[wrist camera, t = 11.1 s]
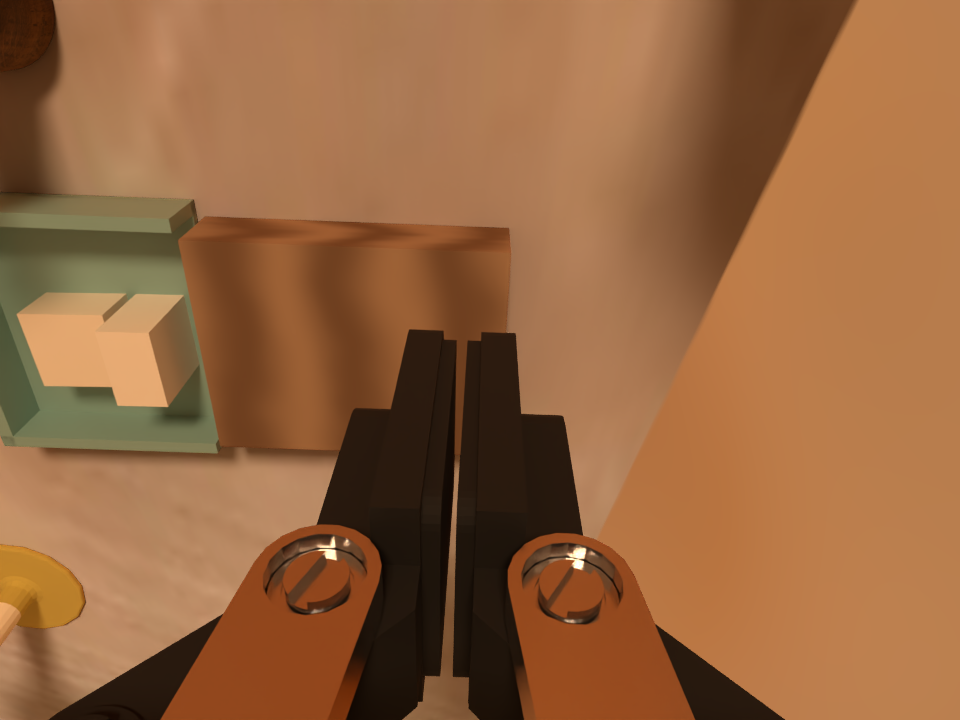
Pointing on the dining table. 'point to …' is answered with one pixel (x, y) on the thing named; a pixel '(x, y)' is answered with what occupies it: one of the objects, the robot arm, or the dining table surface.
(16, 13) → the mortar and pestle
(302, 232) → the board
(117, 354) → the tile
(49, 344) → the tile
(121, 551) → the dining table surface
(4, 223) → the tray
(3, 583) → the candle
